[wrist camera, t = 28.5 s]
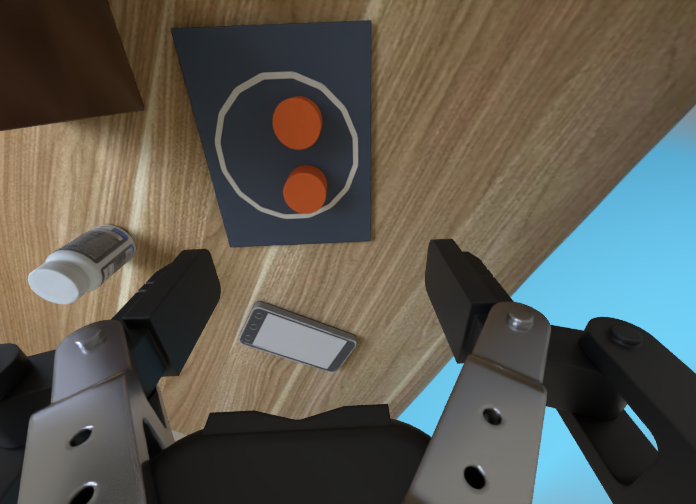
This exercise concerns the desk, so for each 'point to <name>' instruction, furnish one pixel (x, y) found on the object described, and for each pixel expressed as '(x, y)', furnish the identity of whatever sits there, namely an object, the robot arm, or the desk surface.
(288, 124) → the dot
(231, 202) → the dark mat with ring
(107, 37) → the desk cube
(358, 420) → the robot arm
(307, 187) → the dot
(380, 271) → the desk surface
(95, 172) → the desk surface
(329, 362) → the smartphone
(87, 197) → the desk surface
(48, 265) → the pill bottle
